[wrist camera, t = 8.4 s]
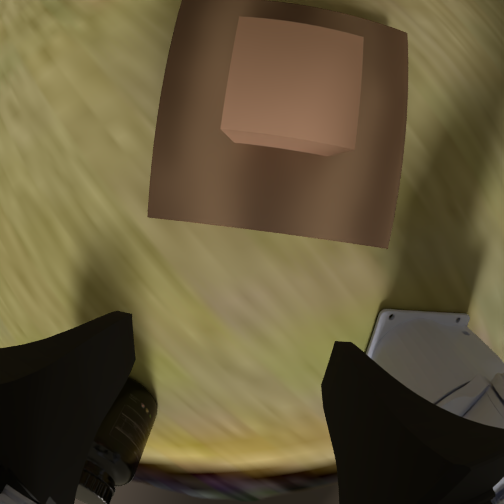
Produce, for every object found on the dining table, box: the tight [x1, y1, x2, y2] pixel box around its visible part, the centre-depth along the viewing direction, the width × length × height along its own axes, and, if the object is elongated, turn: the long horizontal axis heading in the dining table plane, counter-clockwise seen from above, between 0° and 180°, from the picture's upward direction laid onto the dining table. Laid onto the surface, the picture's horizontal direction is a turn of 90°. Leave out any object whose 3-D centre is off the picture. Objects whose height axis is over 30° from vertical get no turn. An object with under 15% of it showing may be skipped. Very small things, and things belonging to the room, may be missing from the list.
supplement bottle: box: [75, 377, 157, 504], centre depth 18 cm, size 7×7×12 cm
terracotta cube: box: [220, 16, 364, 156], centre depth 12 cm, size 5×5×5 cm
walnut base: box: [148, 0, 408, 249], centre depth 16 cm, size 14×14×3 cm
